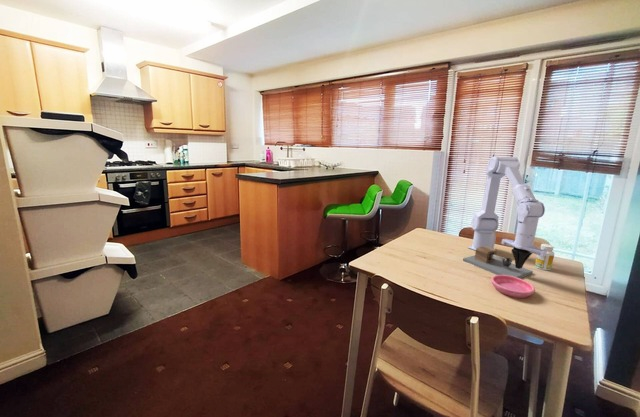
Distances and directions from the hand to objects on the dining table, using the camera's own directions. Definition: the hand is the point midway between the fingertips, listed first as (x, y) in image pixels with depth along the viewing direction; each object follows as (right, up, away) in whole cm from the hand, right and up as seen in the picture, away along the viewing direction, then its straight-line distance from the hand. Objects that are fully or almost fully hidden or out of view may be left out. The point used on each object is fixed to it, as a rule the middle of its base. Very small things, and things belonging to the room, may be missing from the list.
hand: (518, 267), depth 110 cm
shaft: (-4, +1, +8) cm, 9 cm away
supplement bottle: (+15, -2, +8) cm, 17 cm away
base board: (-4, -1, +8) cm, 9 cm away
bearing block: (-6, 0, +12) cm, 13 cm away
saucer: (-10, -6, -11) cm, 16 cm away
